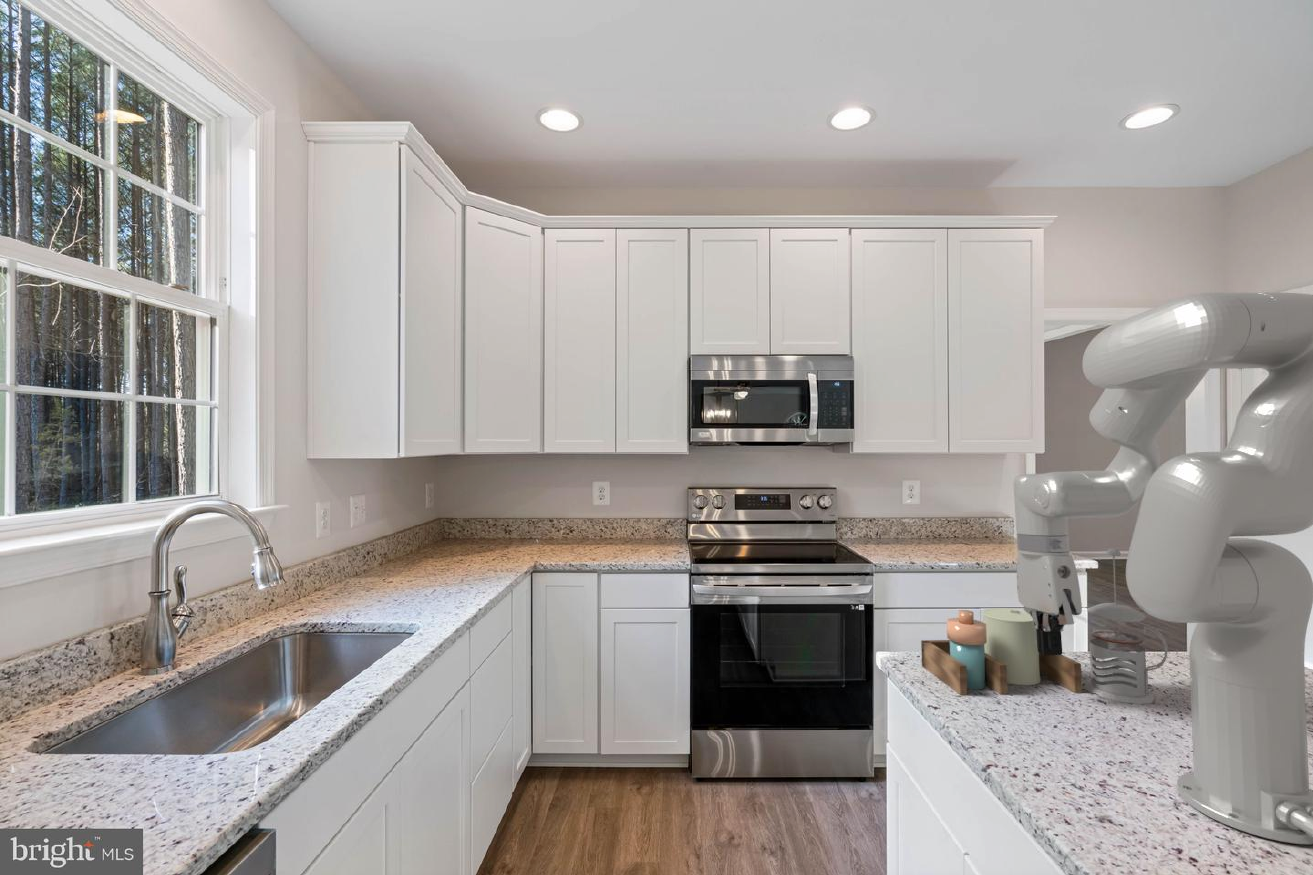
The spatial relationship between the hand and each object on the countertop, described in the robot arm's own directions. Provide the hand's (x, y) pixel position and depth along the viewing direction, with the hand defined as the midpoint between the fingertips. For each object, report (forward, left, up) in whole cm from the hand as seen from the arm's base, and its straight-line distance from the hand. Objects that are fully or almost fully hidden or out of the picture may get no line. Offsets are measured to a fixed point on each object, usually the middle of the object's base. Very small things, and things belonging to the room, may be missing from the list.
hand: (1050, 653), depth 99 cm
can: (+11, 0, -8) cm, 13 cm away
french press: (+2, -14, -8) cm, 17 cm away
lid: (+7, +10, 0) cm, 13 cm away
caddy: (+10, +4, -8) cm, 13 cm away
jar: (+8, +10, -8) cm, 15 cm away
